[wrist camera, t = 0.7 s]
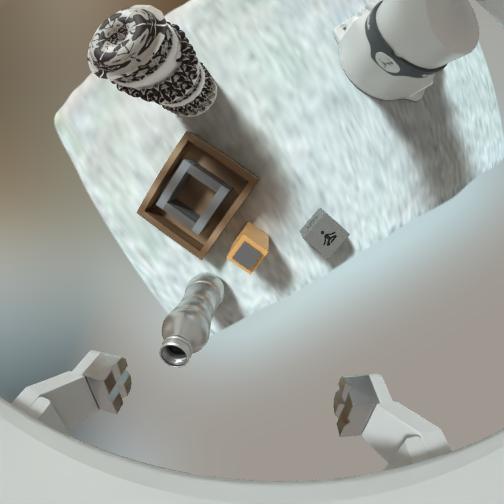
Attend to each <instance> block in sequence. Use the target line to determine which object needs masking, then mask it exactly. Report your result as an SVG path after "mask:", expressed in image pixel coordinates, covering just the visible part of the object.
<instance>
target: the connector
mask: <svg viewBox="0 0 504 504" xmlns="http://www.w3.org/2000/svg"><path fill="white" fill-rule="evenodd" d="M268 247H269V235H268V234H266V233H265V232H264V231H262V230H261V229H259V228H258V227H257V226H255V225H254V224H252V223H251V222H250V221H248V223H247V224H246V225H245V227H244V228H243V229H242V231H241V232H240V233H239V235H238V236H237V237H236V239H235V240H234V242H233V244H232V247H231V249H230V251H229V253H228V255H227V257H226V258H227V259H229V260H230V261H232V262H233V263H235V264H236V265H237V266H239V267H240V268H242V269H243V270H245V271H246V272H248V273H249V274H250V275H251V273H252V272H253V271H254V270H255V268H256V267H257V266H258V265H259V263H260V262H261V261H262V259H263V258H264V257H265V256H266V254H267V253H268Z"/></svg>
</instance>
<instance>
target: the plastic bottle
mask: <svg viewBox="0 0 504 504" xmlns="http://www.w3.org/2000/svg"><path fill="white" fill-rule="evenodd" d="M223 298H224V285H223V283H222V281H221V280H220V278H218V277H217V276H216V275H214V274H211V273H200V274H198V275H196V276H195V277H193V278H192V279H191V280H190V281H189V283H188V285H187V287H186V290H185V294H184V297H183V299H182V300H181V302H180V303H179V304H178V306H177V307H176V308H175V309H174V310H173V311H172V312H171V313H170V314H169V315H168V316H167V317H166V318H165V320H164V322H163V325H162V336H163V339H164V341H163V343H162V346H161V348H160V352H159V354H160V357H161V359H162V361H163V362H164V363H166V364H167V365H169V366H171V367H175V368H180V367H183V366H185V365H186V364H187V363H188V361H189V358H190V357H191V355H192V354H193V353H196V352H198V351H199V350H201V349H202V348H203V347H204V346H205V345H206V343H207V341H208V339H209V334H210V325H211V321H212V317H213V314H214V312H215V310H216V309H217V308H218V307H219V305H220V304H221V302H222V301H223Z"/></svg>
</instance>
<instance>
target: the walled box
mask: <svg viewBox="0 0 504 504" xmlns="http://www.w3.org/2000/svg"><path fill="white" fill-rule="evenodd" d="M259 180H260V179H259V178H258V177H257V176H255V175H254V174H252V173H251V172H250V171H248V170H247V169H245V168H244V167H243V166H241V165H240V164H238V163H237V162H235V161H234V160H232V159H231V158H230V157H228V156H227V155H225V154H224V153H222V152H221V151H219V150H218V149H216V148H215V147H213V146H212V145H210V144H209V143H207V142H206V141H204V140H203V139H201V138H200V137H198V136H197V135H195V134H193V133H191V132H188V131H186V133H185V134H184V136H183V137H182V139H181V140H180V142H179V143H178V145H177V146H176V148H175V149H174V151H173V152H172V154H171V155H170V157H169V158H168V160H167V162H166V163H165V165H164V166H163V168H162V170H161V171H160V173H159V175H158V176H157V178H156V180H155V181H154V183H153V185H152V186H151V188H150V190H149V192H148V193H147V195H146V197H145V199H144V200H143V202H142V204H141V206H140V208H139V209H138V211H137V213H138V214H139V215H140V216H142V217H143V218H144V219H146V220H147V221H148V222H150V223H151V224H152V225H154V226H155V227H156V228H158V229H159V230H161V231H162V232H163V233H165V234H166V235H167V236H169V237H170V238H172V239H173V240H174V241H176V242H177V243H178V244H180V245H181V246H183V247H184V248H185V249H187V250H188V251H190V252H191V253H192V254H194V255H195V256H197V257H198V258H199V259H201V260H202V259H203V258H204V256H205V255H206V254H207V252H208V251H209V249H210V248H211V246H212V245H213V244H214V242H215V241H216V239H217V238H218V236H219V235H220V234H221V232H222V231H223V229H224V228H225V227H226V225H227V224H228V222H229V221H230V220H231V218H232V217H233V215H234V214H235V213H236V211H237V210H238V208H239V207H240V206H241V204H242V203H243V202H244V200H245V199H246V197H247V196H248V195H249V193H250V192H251V191H252V189H253V188H254V187H255V185H256V184H257V182H258V181H259Z"/></svg>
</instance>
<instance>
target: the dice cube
mask: <svg viewBox="0 0 504 504" xmlns="http://www.w3.org/2000/svg"><path fill="white" fill-rule="evenodd" d="M300 232H301V235H302V237H303V239H304V240H306V241H307V242H308V243H309V244H310V245H311V246H313V247H314V248H315V249H316V250H317V251H319V252H320V253H321V254H322V255H323V256H324V257H326V258H327V259H329V258H330V257H331V255H332V254H333V253H334V252H335V251H336V250H337V249H338V248H339V247H340V245H341V244H342V243H343V242H344V241H345V240H346V239H347V237H348V236H349V235H350V234H349V233H348V232H347V231H346V230H345V229H343V228H342V227H341V226H340V225H339V224H338V223H337V222H336V221H335V220H334V219H332V218H331V217H330V216H329V215H328V214H327V213H326V212H325V211H323V210H322V209H321V208H319V209H318V210H317V212H316V213H315V214H314V215H313V216H312V217H311V219H310V220H309V221H308V222H307V223H306V224H305V226H304V227H303V228H302V229H301V230H300Z"/></svg>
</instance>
